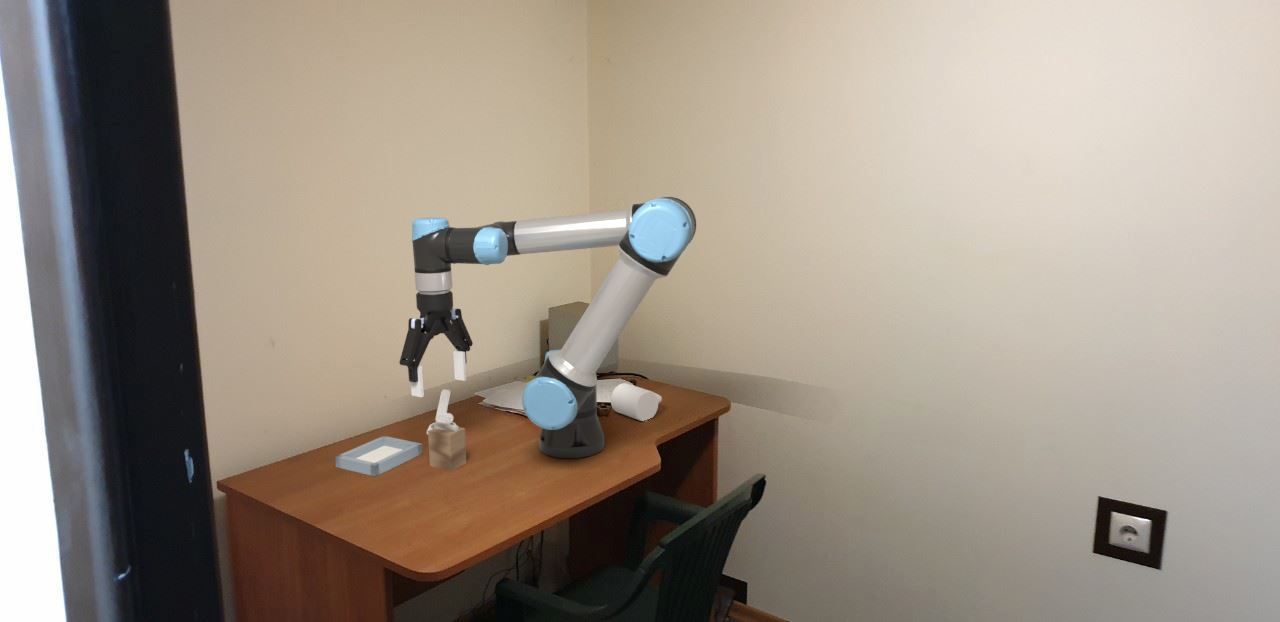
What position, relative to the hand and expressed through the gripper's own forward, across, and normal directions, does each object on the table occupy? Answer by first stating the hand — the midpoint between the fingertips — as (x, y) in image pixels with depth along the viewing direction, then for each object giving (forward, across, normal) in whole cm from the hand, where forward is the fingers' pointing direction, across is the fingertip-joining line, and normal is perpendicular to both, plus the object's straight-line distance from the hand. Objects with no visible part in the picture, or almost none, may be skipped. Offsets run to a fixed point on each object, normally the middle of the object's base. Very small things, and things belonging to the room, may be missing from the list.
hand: (440, 387), depth 167 cm
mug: (+18, -49, +24) cm, 57 cm away
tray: (+17, +6, -13) cm, 22 cm away
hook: (+17, -15, -14) cm, 27 cm away
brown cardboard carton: (+17, +1, +2) cm, 17 cm away
